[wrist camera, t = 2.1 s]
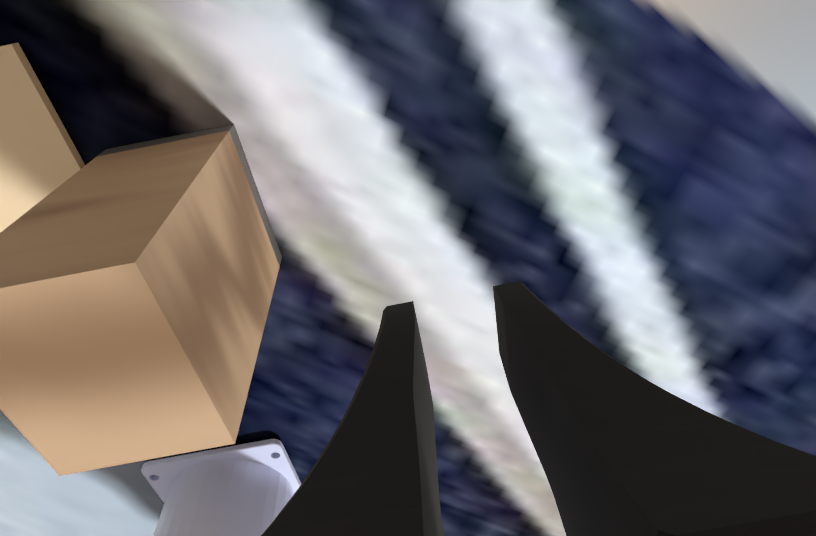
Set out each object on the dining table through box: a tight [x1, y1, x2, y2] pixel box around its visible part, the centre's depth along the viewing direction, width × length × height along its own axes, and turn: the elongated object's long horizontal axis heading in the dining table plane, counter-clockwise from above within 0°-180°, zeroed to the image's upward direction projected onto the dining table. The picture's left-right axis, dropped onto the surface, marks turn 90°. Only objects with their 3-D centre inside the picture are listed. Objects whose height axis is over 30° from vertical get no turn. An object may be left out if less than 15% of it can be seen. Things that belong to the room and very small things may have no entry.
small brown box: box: [0, 124, 282, 476], centre depth 17 cm, size 6×5×10 cm
